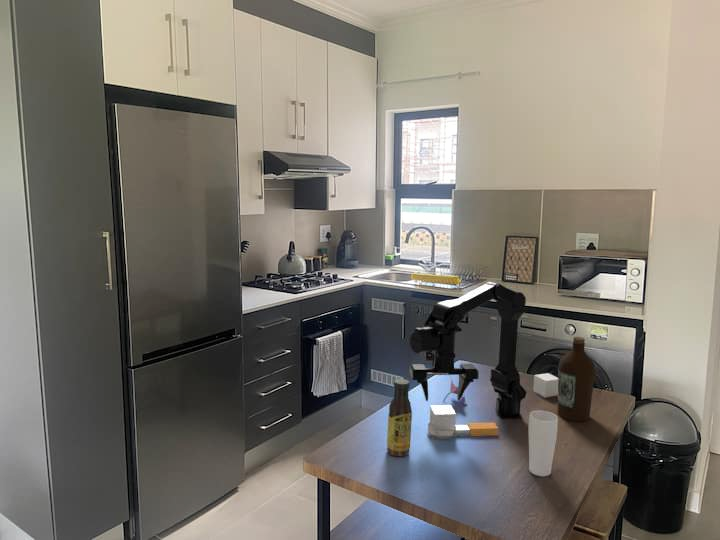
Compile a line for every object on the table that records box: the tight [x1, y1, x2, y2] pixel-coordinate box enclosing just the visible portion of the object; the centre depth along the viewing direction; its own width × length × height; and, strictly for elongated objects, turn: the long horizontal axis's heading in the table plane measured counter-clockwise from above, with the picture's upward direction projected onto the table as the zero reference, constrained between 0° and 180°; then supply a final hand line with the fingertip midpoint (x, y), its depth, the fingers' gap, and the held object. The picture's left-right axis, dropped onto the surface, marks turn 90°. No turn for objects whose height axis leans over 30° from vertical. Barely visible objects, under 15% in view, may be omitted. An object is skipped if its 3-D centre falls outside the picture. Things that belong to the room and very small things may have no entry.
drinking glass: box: [528, 409, 559, 478], centre depth 133 cm, size 7×7×15 cm
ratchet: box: [427, 421, 499, 441], centre depth 154 cm, size 20×8×5 cm, turn 94°
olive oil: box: [556, 336, 596, 422], centre depth 165 cm, size 11×11×25 cm
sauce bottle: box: [386, 378, 413, 457], centre depth 142 cm, size 6×6×20 cm
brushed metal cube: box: [429, 404, 457, 431], centre depth 153 cm, size 6×6×5 cm
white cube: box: [532, 372, 558, 398], centre depth 184 cm, size 6×6×6 cm
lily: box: [442, 375, 468, 405], centre depth 177 cm, size 12×12×10 cm
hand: (442, 400), depth 153 cm, fingers open, 9 cm apart
